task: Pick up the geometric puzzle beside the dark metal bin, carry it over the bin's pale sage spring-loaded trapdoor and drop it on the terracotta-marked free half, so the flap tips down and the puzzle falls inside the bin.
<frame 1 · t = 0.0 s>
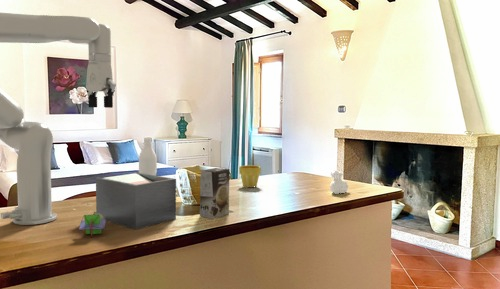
hand: (100, 107, 143), 37 cm above the worktop, tool pointing down, fingers open, 9 cm apart
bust: (337, 193, 179), on the worktop
geometric puzzle: (92, 236, 112), on the worktop
coffee box: (214, 215, 137), on the worktop
water bottle: (147, 200, 158), on the worktop
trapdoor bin: (140, 219, 129), on the worktop
trapdoor: (132, 183, 131), point 12 cm above the worktop, hinge at -12.0°
plant pot: (249, 187, 190), on the worktop
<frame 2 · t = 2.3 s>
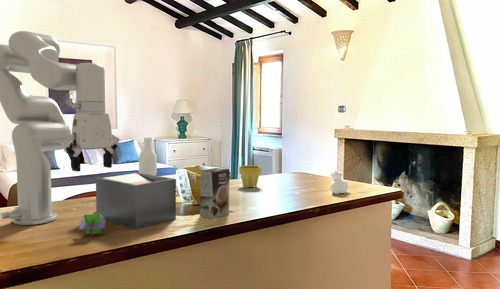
hand: (92, 169, 111), 19 cm above the worktop, tool pointing down, fingers open, 9 cm apart
nothing on the worktop moved.
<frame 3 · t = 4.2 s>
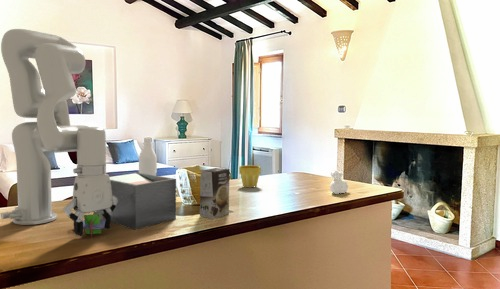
hand: (92, 231, 112), 1 cm above the worktop, tool pointing down, fingers closed on geometric puzzle, 7 cm apart
geometric puzzle: (92, 235, 112), on the worktop, touching gripper
everything else where it was.
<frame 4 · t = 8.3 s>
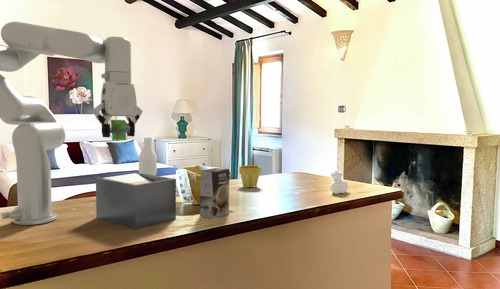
hand: (118, 136, 120), 28 cm above the worktop, tool pointing down, fingers closed on geometric puzzle, 7 cm apart
geometric puzzle: (118, 141, 121), point 26 cm above the worktop, touching gripper
everything else where it was.
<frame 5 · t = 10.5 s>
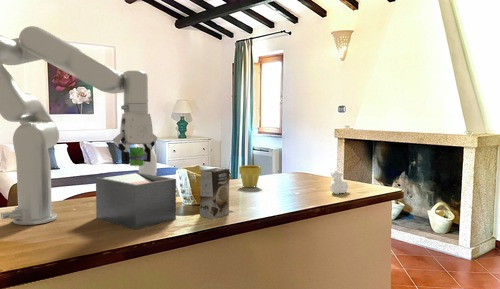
hand: (136, 162, 129), 19 cm above the worktop, tool pointing down, fingers closed on geometric puzzle, 7 cm apart
geometric puzzle: (136, 166, 129), point 17 cm above the worktop, touching gripper
everything else where it was.
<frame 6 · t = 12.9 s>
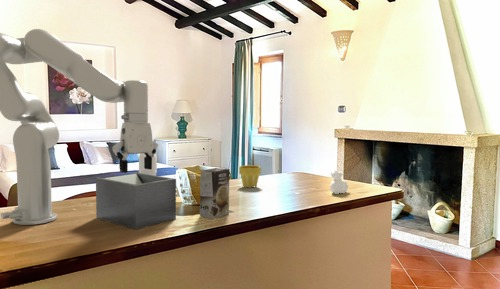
hand: (136, 170, 129), 16 cm above the worktop, tool pointing down, fingers open, 9 cm apart
geometric puzzle: (134, 204, 127), point 6 cm above the worktop, touching trapdoor, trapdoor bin
trapdoor: (129, 192, 132), point 8 cm above the worktop, hinge at -44.4°, touching geometric puzzle
everything else where it was.
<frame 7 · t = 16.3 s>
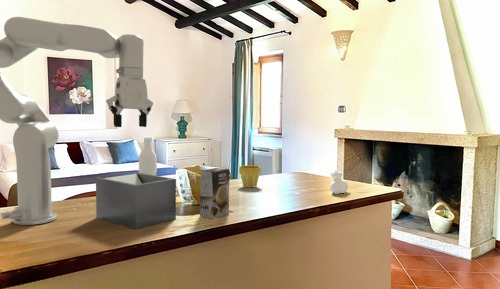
hand: (130, 126, 129), 31 cm above the worktop, tool pointing down, fingers open, 9 cm apart
nothing on the worktop moved.
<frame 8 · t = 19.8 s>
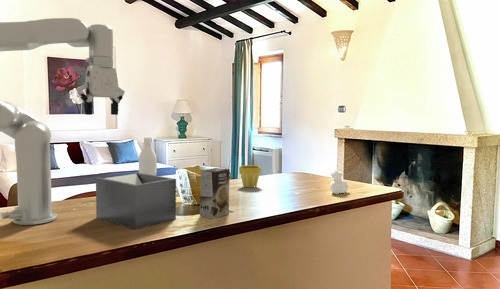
hand: (101, 114, 132), 34 cm above the worktop, tool pointing down, fingers open, 9 cm apart
nothing on the worktop moved.
at the end: geometric puzzle point 5.5 cm above the worktop; geometric puzzle inside the target area on the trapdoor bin (3.0 cm from its centre), point 5.5 cm above the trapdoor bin's base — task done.
